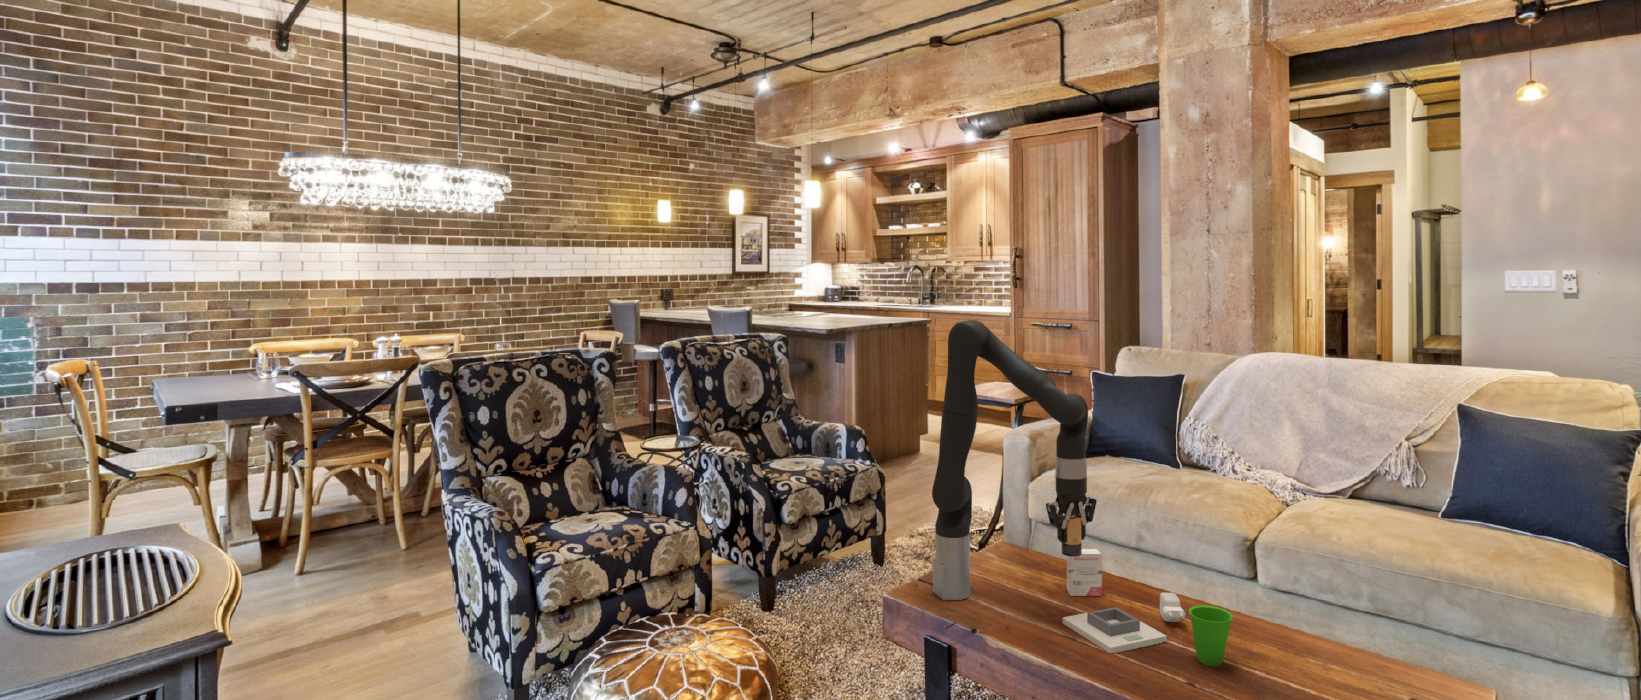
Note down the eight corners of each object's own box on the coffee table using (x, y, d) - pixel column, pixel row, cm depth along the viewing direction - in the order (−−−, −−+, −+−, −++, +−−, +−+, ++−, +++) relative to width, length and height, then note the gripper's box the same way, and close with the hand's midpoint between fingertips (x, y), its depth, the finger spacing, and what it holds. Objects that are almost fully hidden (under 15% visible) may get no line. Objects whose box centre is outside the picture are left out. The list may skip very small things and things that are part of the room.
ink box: (1098, 589, 227) (1098, 547, 226) (1102, 596, 222) (1103, 554, 221) (1066, 589, 228) (1066, 547, 227) (1069, 596, 223) (1069, 553, 222)
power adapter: (1189, 633, 199) (1189, 609, 199) (1167, 632, 200) (1168, 608, 199) (1176, 613, 210) (1177, 591, 210) (1156, 613, 211) (1157, 590, 210)
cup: (1229, 654, 188) (1230, 607, 187) (1234, 673, 179) (1236, 624, 178) (1185, 649, 191) (1186, 603, 190) (1189, 667, 182) (1190, 619, 181)
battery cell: (1069, 557, 206) (1069, 518, 205) (1057, 551, 211) (1057, 513, 210) (1085, 554, 208) (1085, 515, 207) (1073, 549, 212) (1073, 511, 211)
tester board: (1110, 653, 189) (1110, 637, 189) (1062, 623, 206) (1062, 607, 206) (1166, 642, 195) (1166, 625, 194) (1115, 613, 211) (1115, 597, 211)
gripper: (1085, 468, 213) (1085, 532, 215) (1038, 474, 208) (1038, 540, 210) (1104, 474, 206) (1104, 541, 208) (1056, 480, 201) (1056, 549, 203)
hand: (1071, 540), depth 209 cm, fingers closed on battery cell, 4 cm apart
